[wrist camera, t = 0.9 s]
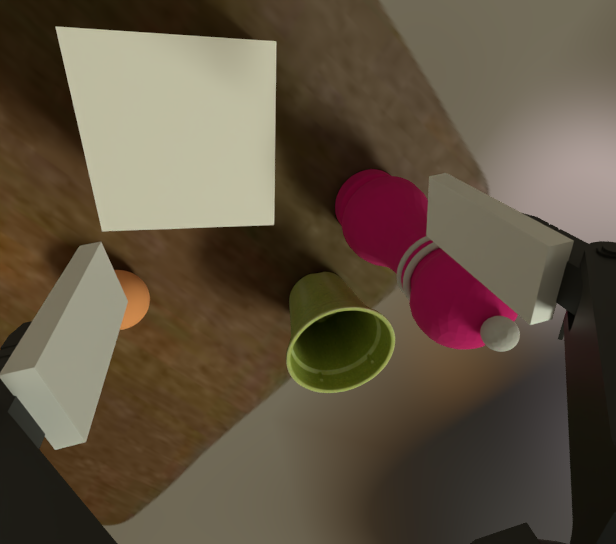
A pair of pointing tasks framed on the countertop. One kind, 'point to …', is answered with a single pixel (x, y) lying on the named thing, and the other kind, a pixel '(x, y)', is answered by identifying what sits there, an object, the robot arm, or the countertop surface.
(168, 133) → the cream cuboid
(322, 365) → the plant pot
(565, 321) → the robot arm
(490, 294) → the pepper mill
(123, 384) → the countertop surface
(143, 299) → the ball
